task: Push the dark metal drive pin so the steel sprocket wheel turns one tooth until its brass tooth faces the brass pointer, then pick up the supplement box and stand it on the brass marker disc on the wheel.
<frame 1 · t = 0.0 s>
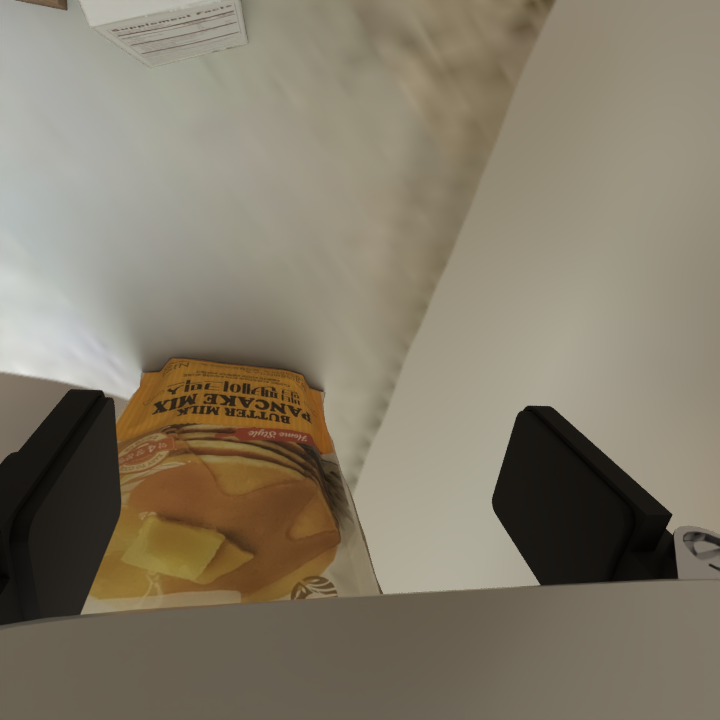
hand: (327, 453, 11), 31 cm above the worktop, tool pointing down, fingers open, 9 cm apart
pancake mix bag: (237, 391, 44), on the worktop
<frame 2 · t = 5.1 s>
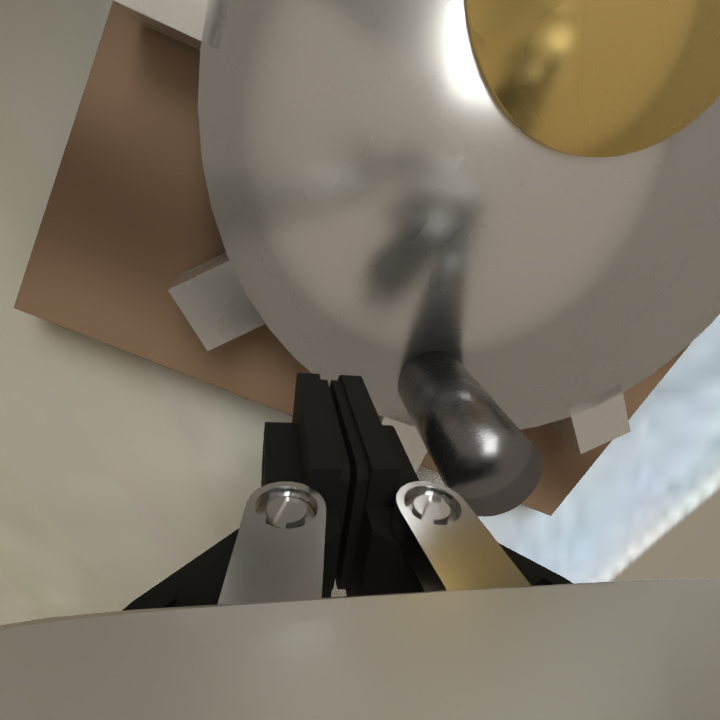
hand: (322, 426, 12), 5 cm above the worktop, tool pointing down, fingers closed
sprocket wheel: (573, 154, 10), point 5 cm above the worktop, hinge at 7.9°, touching gripper
walnut plinth: (484, 153, 15), on the worktop
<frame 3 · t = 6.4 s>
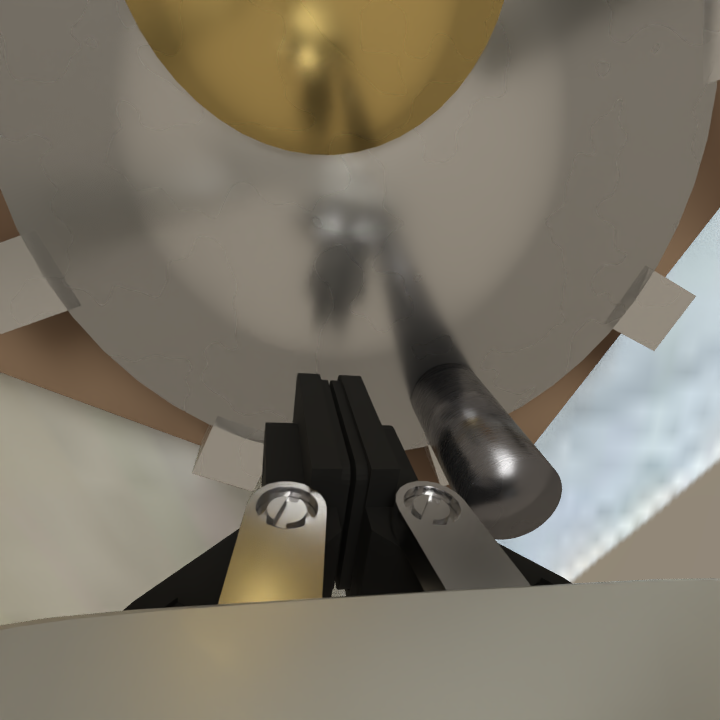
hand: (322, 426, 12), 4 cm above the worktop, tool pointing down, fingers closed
sprocket wheel: (392, 155, 9), point 5 cm above the worktop, hinge at 47.8°, touching gripper
walnut plinth: (359, 154, 14), on the worktop
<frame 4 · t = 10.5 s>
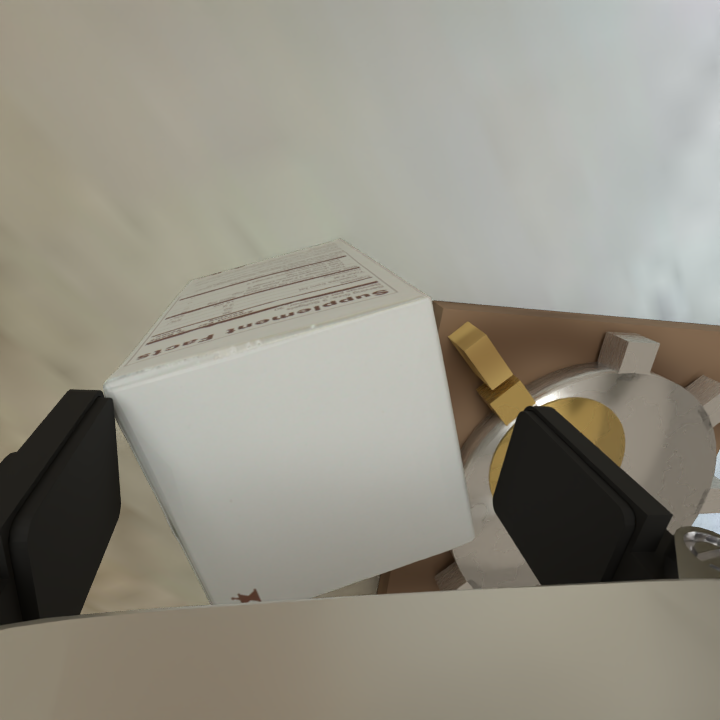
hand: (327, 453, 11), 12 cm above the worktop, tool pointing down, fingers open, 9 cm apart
supplement box: (288, 327, 23), on the worktop, touching gripper
sprocket wheel: (605, 522, 25), point 5 cm above the worktop, hinge at 46.0°
walnut plinth: (553, 470, 29), on the worktop
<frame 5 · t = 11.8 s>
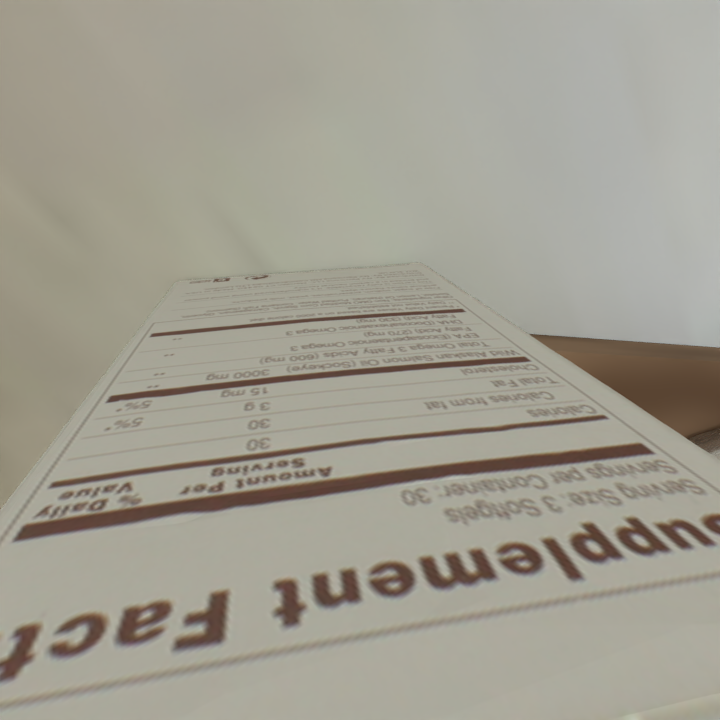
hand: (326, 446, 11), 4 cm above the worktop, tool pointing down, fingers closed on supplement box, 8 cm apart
supplement box: (310, 374, 15), on the worktop, touching gripper
walnut plinth: (659, 550, 22), on the worktop
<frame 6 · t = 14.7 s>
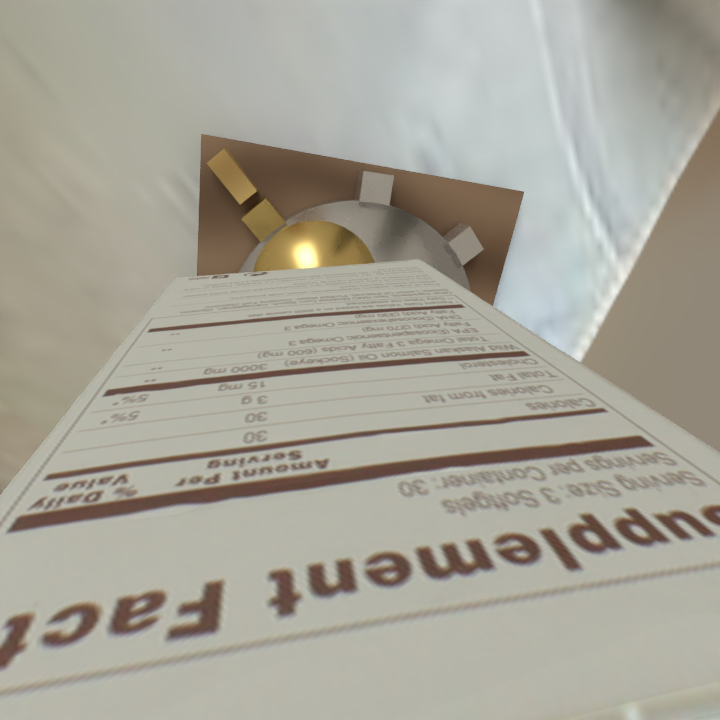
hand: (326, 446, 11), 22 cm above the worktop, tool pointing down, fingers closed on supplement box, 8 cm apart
supplement box: (310, 372, 15), point 18 cm above the worktop, touching gripper
sprocket wheel: (359, 339, 29), point 5 cm above the worktop, hinge at 46.0°
walnut plinth: (347, 315, 33), on the worktop
when the fingers open (9 cm above the worktop, at t = 18.0 s): supplement box stays where it is, resting on sprocket wheel.
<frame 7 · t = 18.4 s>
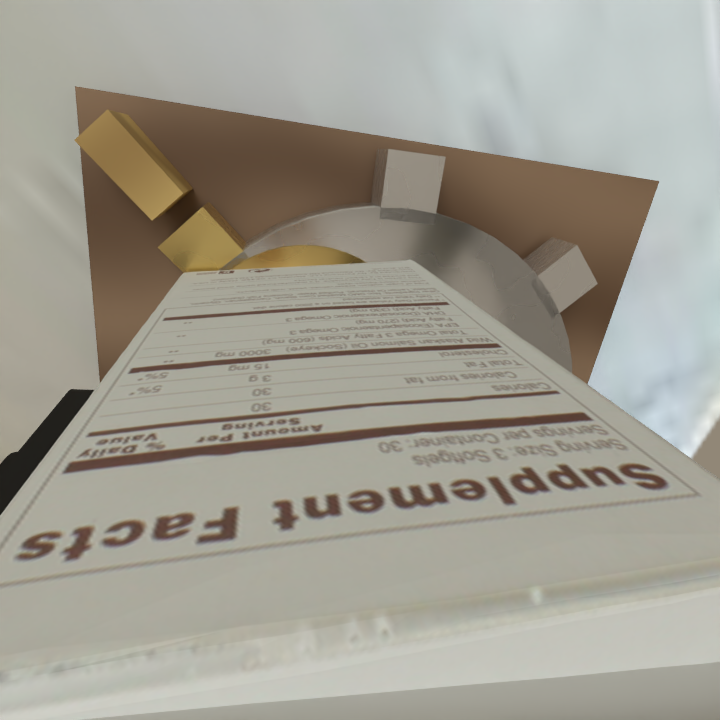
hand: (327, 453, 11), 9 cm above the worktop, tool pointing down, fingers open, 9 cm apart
supplement box: (307, 363, 16), point 3 cm above the worktop, touching sprocket wheel
sprocket wheel: (383, 450, 16), point 5 cm above the worktop, hinge at 46.0°, touching supplement box
walnut plinth: (359, 388, 21), on the worktop
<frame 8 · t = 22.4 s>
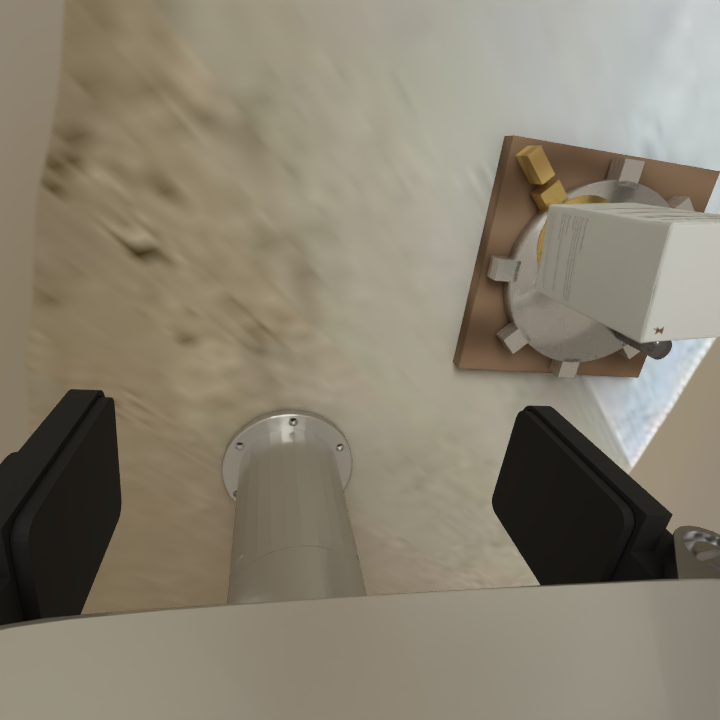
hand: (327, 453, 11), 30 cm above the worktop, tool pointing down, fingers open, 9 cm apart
supplement box: (579, 246, 39), point 3 cm above the worktop, touching sprocket wheel
sprocket wheel: (608, 282, 40), point 5 cm above the worktop, hinge at 45.9°, touching supplement box
walnut plinth: (574, 269, 44), on the worktop
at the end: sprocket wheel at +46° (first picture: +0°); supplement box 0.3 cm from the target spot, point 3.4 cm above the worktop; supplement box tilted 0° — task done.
